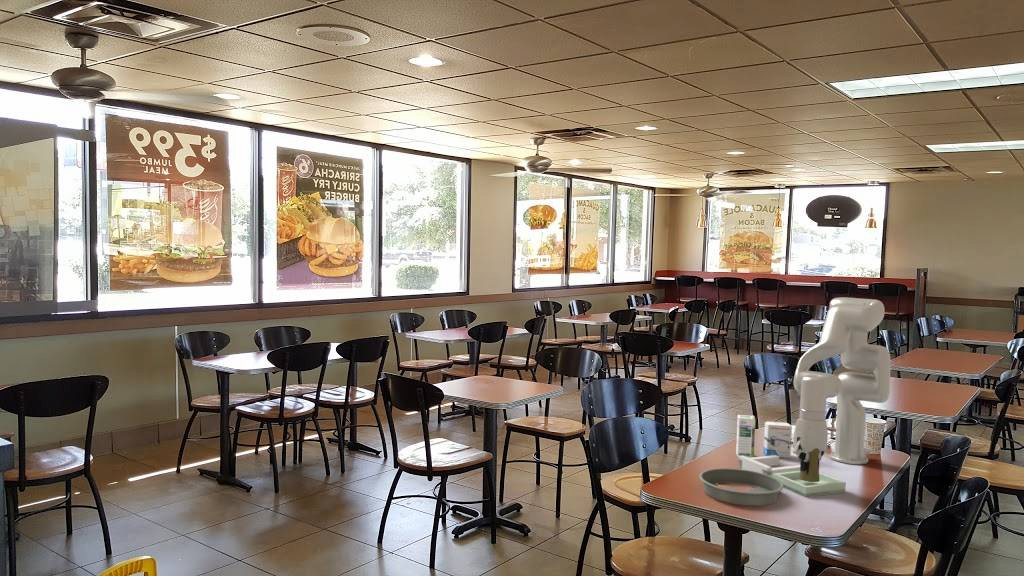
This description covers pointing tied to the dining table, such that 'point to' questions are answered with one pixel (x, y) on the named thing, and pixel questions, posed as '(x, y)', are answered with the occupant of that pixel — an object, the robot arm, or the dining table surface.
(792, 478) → the tray
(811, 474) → the cork
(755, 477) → the cake pan
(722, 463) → the dining table surface
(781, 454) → the ink box
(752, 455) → the syrup box
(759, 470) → the dock
